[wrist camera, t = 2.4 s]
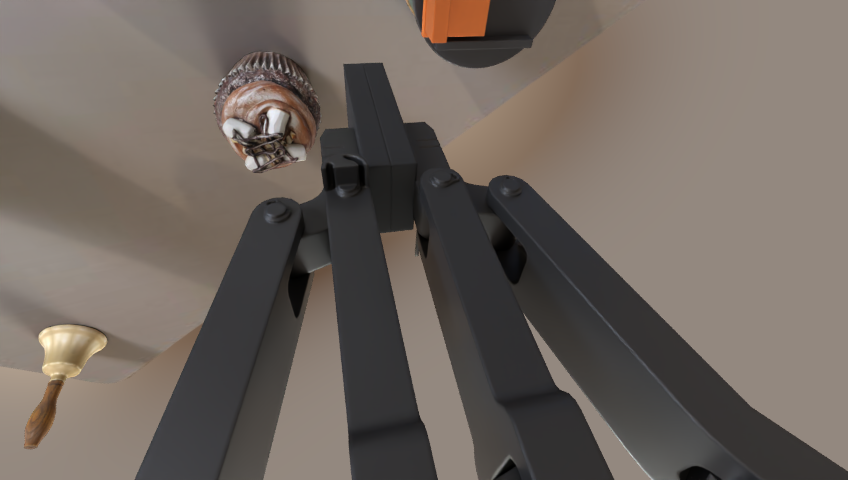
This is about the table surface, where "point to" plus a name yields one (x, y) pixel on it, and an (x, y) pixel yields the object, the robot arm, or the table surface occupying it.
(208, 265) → the table surface
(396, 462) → the robot arm
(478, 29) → the slider
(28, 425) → the hand bell
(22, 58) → the table surface
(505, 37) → the mug lid
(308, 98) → the cupcake
